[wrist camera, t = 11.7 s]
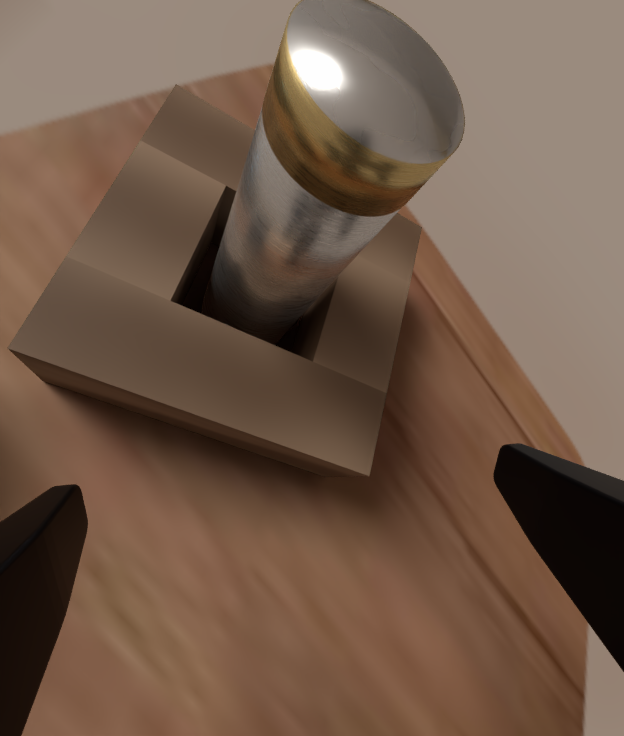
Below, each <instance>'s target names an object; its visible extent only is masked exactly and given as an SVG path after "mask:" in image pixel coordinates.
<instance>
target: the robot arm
mask: <svg viewBox="0 0 624 736" xmlns="http://www.w3.org/2000/svg"><path fill="white" fill-rule="evenodd" d="M494 482H495V484H496V486H497V488H498V489H499V491H500V493H501V494H502V496H503V498H504V500H505V501H506V503H507V505H508V506H509V508H510V510H511V511H512V513H513V515H514V516H515V518H516V520H517V521H518V523H519V525H520V526H521V528H522V530H523V531H524V533H525V535H526V536H527V538H528V539H529V541H530V542H531V544H532V545H533V547H534V548H535V550H536V551H537V553H538V554H539V555H540V557H541V558H542V560H543V561H544V562H545V564H546V565H547V566H548V568H549V569H550V571H551V572H552V573H553V575H554V576H555V578H556V579H557V580H558V582H559V583H560V584H561V586H562V587H563V589H564V590H565V591H566V593H567V594H568V596H569V597H570V598H571V600H572V601H573V602H574V604H575V605H576V607H577V608H578V609H579V611H580V612H581V614H582V615H583V616H584V618H585V619H586V620H587V622H588V623H589V625H590V626H591V627H592V629H593V630H594V631H595V633H596V634H597V636H598V637H599V638H600V640H601V641H602V643H603V644H604V645H605V647H606V648H607V649H608V651H609V652H610V654H611V655H612V656H613V658H614V659H615V660H616V662H617V663H618V665H619V666H620V668H621V669H622V670H623V672H624V481H622V480H620V479H617V478H614V477H611V476H609V475H606V474H603V473H601V472H598V471H595V470H592V469H590V468H587V467H584V466H581V465H579V464H576V463H573V462H570V461H567V460H565V459H562V458H559V457H556V456H554V455H551V454H548V453H545V452H543V451H540V450H537V449H534V448H532V447H529V446H526V445H523V444H518V443H517V444H506V445H503V446H502V447H501V448H500V451H499V454H498V458H497V462H496V466H495V470H494ZM87 528H88V519H87V514H86V509H85V505H84V500H83V496H82V492H81V489H80V487H79V486H78V485H76V484H73V485H62V486H54V487H52V488H50V489H49V490H47V491H46V492H44V493H43V494H41V495H40V496H38V497H37V498H35V499H34V500H32V501H31V502H29V503H28V504H26V505H25V506H24V507H22V508H21V509H19V510H18V511H16V512H15V513H13V514H12V515H10V516H9V517H7V518H6V519H4V520H3V521H2V522H0V736H21V735H22V732H23V730H24V727H25V724H26V722H27V719H28V716H29V713H30V711H31V708H32V705H33V703H34V700H35V697H36V695H37V692H38V689H39V686H40V684H41V681H42V678H43V676H44V673H45V670H46V668H47V665H48V662H49V659H50V657H51V654H52V651H53V649H54V646H55V643H56V641H57V638H58V635H59V632H60V630H61V627H62V624H63V621H64V618H65V615H66V612H67V608H68V605H69V601H70V597H71V593H72V589H73V585H74V581H75V577H76V573H77V569H78V565H79V561H80V557H81V553H82V549H83V546H84V542H85V538H86V534H87Z"/></svg>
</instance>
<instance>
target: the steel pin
mask: <svg viewBox="0 0 624 736" xmlns="http://www.w3.org/2000/svg"><path fill="white" fill-rule="evenodd" d="M464 127H465V117H464V110H463V104H462V101H461V98H460V94H459V92H458V89H457V87H456V85H455V83H454V81H453V79H452V77H451V75H450V73H449V71H448V70H447V68H446V66H445V65H444V64H443V62H442V61H441V59H440V58H439V57H438V55H437V54H436V53H435V52H434V50H433V49H432V48H431V47H430V45H429V44H428V43H427V42H426V41H425V40H424V39H423V38H422V37H421V36H420V35H419V34H418V33H417V32H416V31H415V30H414V29H412V28H411V27H410V26H409V25H408V24H406V23H405V22H404V21H402V20H401V19H400V18H398V17H397V16H396V15H394V14H393V13H391V12H389V11H388V10H386V9H384V8H383V7H381V6H379V5H377V4H375V3H373V2H371V1H368V0H301V1H300V2H298V4H296V5H295V7H294V8H293V10H292V11H291V13H290V16H289V18H288V21H287V25H286V28H285V31H284V34H283V37H282V41H281V44H280V47H279V50H278V54H277V57H276V60H275V64H274V67H273V70H272V73H271V77H270V80H269V83H268V87H267V90H266V93H265V97H264V101H263V106H262V110H261V113H260V116H259V119H258V123H257V126H256V129H255V132H254V136H253V139H252V142H251V146H250V149H249V152H248V155H247V159H246V162H245V165H244V168H243V172H242V175H241V178H240V181H239V185H238V188H237V191H236V194H235V198H234V201H233V204H232V208H231V211H230V214H229V217H228V221H227V224H226V227H225V230H224V234H223V237H222V240H221V243H220V247H219V250H218V253H217V256H216V260H215V263H214V266H213V270H212V273H211V276H210V279H209V283H208V286H207V289H206V292H205V296H204V299H203V303H202V314H203V315H205V316H207V317H210V318H212V319H214V320H217V321H219V322H221V323H224V324H226V325H228V326H231V327H233V328H235V329H238V330H240V331H242V332H245V333H247V334H249V335H252V336H254V337H256V338H259V339H261V340H263V341H266V342H268V343H270V344H273V345H275V344H276V343H277V342H278V341H279V340H280V338H281V337H282V336H283V335H284V334H285V333H286V332H287V331H288V330H289V329H290V328H291V327H292V325H293V324H294V323H295V322H296V321H297V320H298V319H299V318H300V317H301V316H302V315H303V314H304V313H305V311H306V310H307V309H308V308H309V307H310V306H311V305H312V304H313V303H314V302H315V301H316V300H317V298H318V297H319V296H320V295H321V294H322V293H323V292H324V291H325V290H326V289H327V288H328V287H329V286H330V284H331V283H332V282H333V281H334V280H335V279H336V278H337V277H338V276H339V275H340V274H341V273H342V271H343V270H344V269H345V268H346V267H347V266H348V265H349V264H350V263H351V262H352V261H353V260H354V258H355V257H356V256H357V255H358V254H359V253H360V252H361V251H362V250H363V249H364V248H365V247H366V246H367V244H368V243H369V242H370V241H371V240H372V239H373V238H374V237H375V236H376V235H377V234H378V233H379V231H380V230H381V229H382V228H383V227H384V226H385V225H386V224H387V223H388V222H389V221H390V220H391V219H392V217H393V216H394V215H395V214H396V213H397V212H398V211H399V210H400V209H401V208H402V207H403V206H404V205H406V204H407V202H408V201H409V200H410V199H411V198H412V197H413V196H414V195H415V194H416V193H417V192H418V191H419V190H420V188H421V187H422V186H423V185H424V184H425V183H426V182H427V181H428V180H429V179H430V178H431V177H432V175H433V174H434V173H435V172H436V171H437V170H438V169H439V168H440V167H441V166H442V165H443V164H444V163H445V162H446V161H447V159H448V158H449V157H450V156H451V155H452V154H453V153H454V152H455V151H456V149H457V148H458V147H459V145H460V143H461V141H462V137H463V134H464Z"/></svg>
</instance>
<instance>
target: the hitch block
mask: <svg viewBox="0 0 624 736" xmlns="http://www.w3.org/2000/svg"><path fill="white" fill-rule="evenodd" d="M254 132H255V130H254V129H252V128H250V127H249V126H247V125H245V124H243V123H242V122H240V121H238V120H237V119H235V118H233V117H231V116H230V115H228V114H226V113H224V112H223V111H221V110H219V109H218V108H216V107H214V106H212V105H211V104H209V103H207V102H206V101H204V100H202V99H200V98H199V97H197V96H195V95H194V94H192V93H190V92H188V91H187V90H185V89H183V88H182V87H180V86H178V85H175V87H174V88H173V90H172V92H171V93H170V95H169V96H168V98H167V99H166V101H165V102H164V104H163V106H162V107H161V109H160V110H159V112H158V113H157V115H156V117H155V118H154V120H153V121H152V123H151V124H150V126H149V128H148V129H147V131H146V132H145V134H144V135H143V137H142V138H141V140H140V142H139V143H138V145H137V146H136V148H135V149H134V151H133V153H132V154H131V156H130V157H129V159H128V160H127V162H126V164H125V165H124V167H123V168H122V170H121V171H120V173H119V174H118V176H117V178H116V179H115V181H114V182H113V184H112V185H111V187H110V189H109V190H108V192H107V193H106V195H105V196H104V198H103V199H102V201H101V203H100V204H99V206H98V207H97V209H96V210H95V212H94V214H93V215H92V217H91V218H90V220H89V221H88V223H87V225H86V226H85V228H84V229H83V231H82V232H81V234H80V235H79V237H78V239H77V240H76V242H75V243H74V245H73V246H72V248H71V250H70V251H69V253H68V254H67V256H66V257H65V259H64V261H63V262H62V264H61V265H60V267H59V268H58V270H57V271H56V273H55V275H54V276H53V278H52V279H51V281H50V282H49V284H48V286H47V287H46V289H45V290H44V292H43V293H42V295H41V297H40V298H39V300H38V301H37V303H36V304H35V306H34V307H33V309H32V311H31V312H30V314H29V315H28V317H27V318H26V320H25V322H24V323H23V325H22V326H21V328H20V329H19V331H18V332H17V334H16V336H15V337H14V339H13V340H12V342H11V343H10V345H9V347H8V349H9V350H10V351H11V352H12V353H13V354H14V355H15V356H16V357H17V358H19V359H20V360H21V361H22V362H23V363H24V364H25V365H26V366H27V367H28V368H29V369H30V370H31V371H33V372H34V373H35V374H36V375H37V376H38V377H39V378H40V379H41V380H42V381H45V382H48V383H51V384H54V385H56V386H59V387H62V388H65V389H68V390H71V391H74V392H77V393H80V394H83V395H86V396H89V397H92V398H95V399H98V400H101V401H103V402H106V403H109V404H112V405H115V406H118V407H121V408H124V409H127V410H130V411H133V412H136V413H139V414H142V415H145V416H148V417H150V418H153V419H156V420H159V421H162V422H165V423H168V424H171V425H174V426H177V427H180V428H183V429H186V430H189V431H192V432H194V433H197V434H200V435H203V436H206V437H209V438H212V439H215V440H218V441H221V442H224V443H227V444H230V445H233V446H236V447H239V448H241V449H244V450H247V451H250V452H253V453H256V454H259V455H262V456H265V457H268V458H271V459H274V460H277V461H280V462H283V463H286V464H288V465H291V466H294V467H297V468H300V469H303V470H306V471H309V472H312V473H315V474H318V475H321V476H324V477H349V476H370V471H371V466H372V462H373V457H374V452H375V447H376V443H377V438H378V433H379V428H380V424H381V419H382V414H383V409H384V405H385V400H386V395H387V390H388V386H389V381H390V376H391V371H392V367H393V362H394V357H395V352H396V348H397V343H398V338H399V333H400V329H401V324H402V319H403V314H404V310H405V305H406V300H407V295H408V291H409V286H410V281H411V276H412V272H413V267H414V262H415V257H416V253H417V248H418V243H419V238H420V234H421V229H422V227H420V226H419V225H417V224H415V223H414V222H412V221H410V220H408V219H407V218H405V217H403V216H401V215H400V214H398V213H396V214H395V215H394V216H393V217H392V219H391V220H390V221H389V222H388V223H387V224H386V225H385V226H384V227H383V228H382V229H381V230H380V231H379V233H378V234H377V235H376V236H375V237H374V238H373V239H372V240H371V241H370V242H369V243H368V244H367V246H366V247H365V248H364V249H363V250H362V251H361V252H360V253H359V254H358V255H357V256H356V257H355V258H354V260H353V261H352V262H351V263H350V264H349V265H348V266H347V267H346V268H345V269H344V270H343V271H342V273H341V274H340V275H339V276H338V277H337V278H336V279H335V280H334V281H333V282H332V283H331V284H330V286H329V287H328V288H327V289H326V290H325V291H324V292H323V293H322V294H321V295H320V296H319V297H318V298H317V300H316V301H315V302H314V303H313V304H312V305H311V306H310V307H309V308H308V309H307V310H306V311H305V313H304V314H303V317H302V320H301V323H300V326H299V329H298V333H297V336H296V339H295V342H294V345H293V348H292V351H291V352H289V351H287V350H284V349H282V348H280V347H277V346H275V345H273V344H270V343H268V342H266V341H263V340H261V339H259V338H256V337H254V336H252V335H249V334H247V333H245V332H242V331H240V330H238V329H235V328H233V327H231V326H228V325H226V324H224V323H221V322H219V321H217V320H214V319H212V318H210V317H207V316H205V315H203V314H200V313H198V312H195V311H193V310H191V309H188V308H186V307H184V306H182V303H183V301H184V299H185V297H186V295H187V293H188V291H189V288H190V286H191V284H192V282H193V280H194V278H195V276H196V274H197V271H198V269H199V267H200V265H201V263H202V261H203V259H204V257H205V254H206V252H207V250H208V248H209V246H210V244H211V242H212V243H214V244H216V245H218V246H220V243H221V240H222V237H223V234H224V230H225V227H226V224H227V221H228V217H229V214H230V211H231V208H232V204H233V201H234V198H235V194H236V191H237V188H238V185H239V181H240V178H241V175H242V172H243V168H244V165H245V162H246V159H247V155H248V152H249V149H250V146H251V142H252V139H253V136H254Z"/></svg>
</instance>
